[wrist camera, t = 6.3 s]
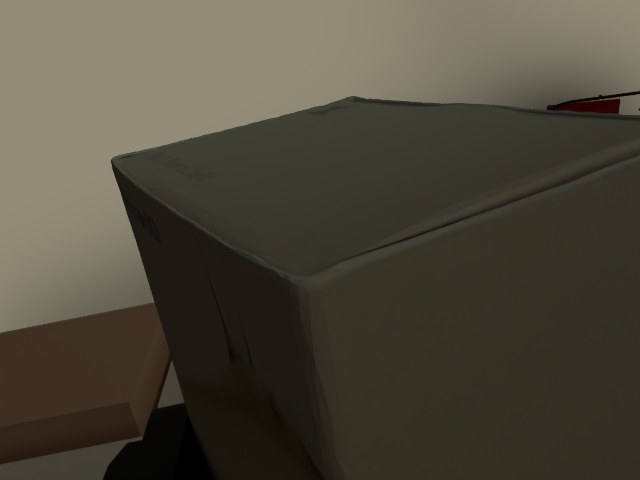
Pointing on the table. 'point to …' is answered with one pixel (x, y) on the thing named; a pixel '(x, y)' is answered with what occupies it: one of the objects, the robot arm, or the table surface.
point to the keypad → (86, 463)
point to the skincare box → (401, 291)
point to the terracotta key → (80, 382)
